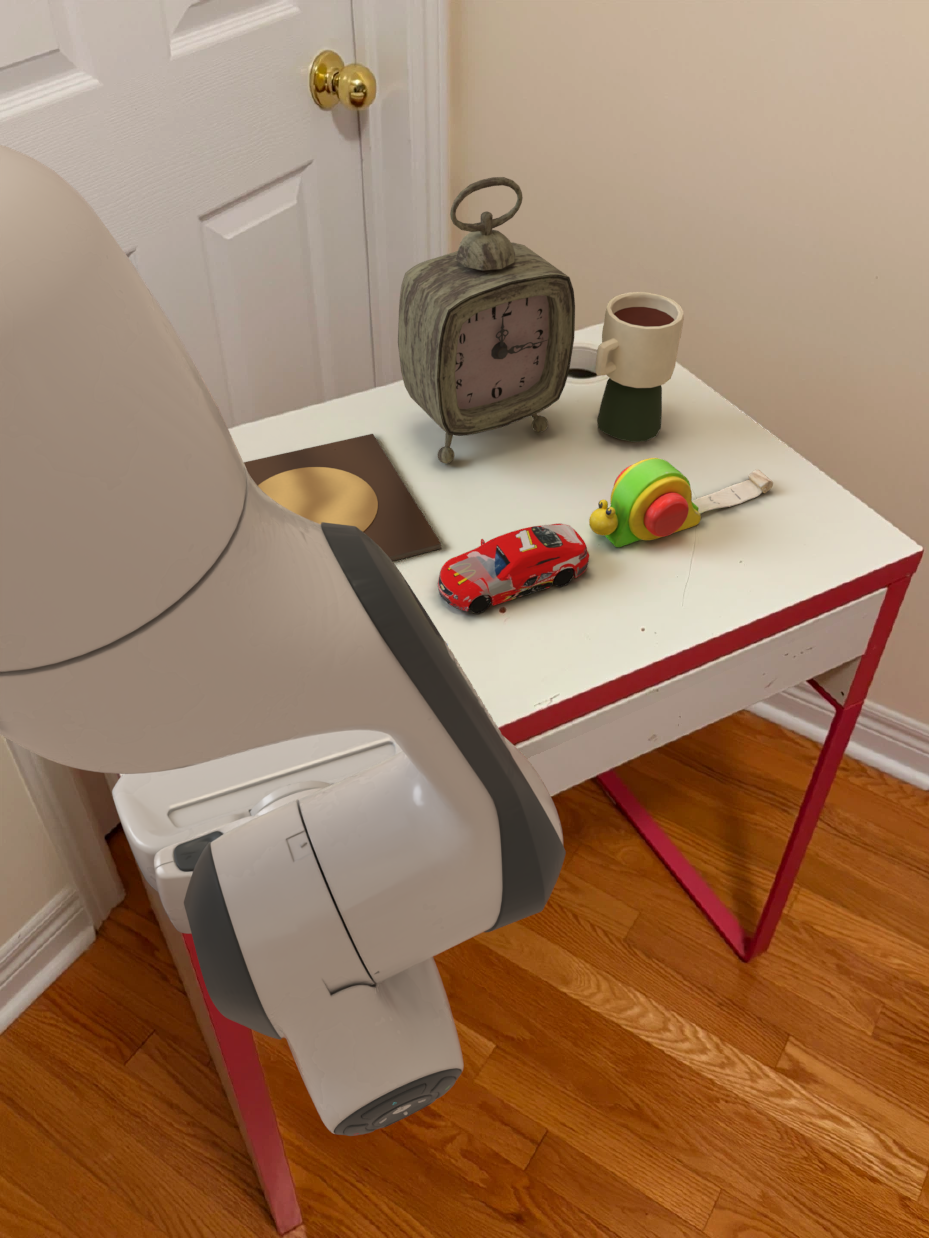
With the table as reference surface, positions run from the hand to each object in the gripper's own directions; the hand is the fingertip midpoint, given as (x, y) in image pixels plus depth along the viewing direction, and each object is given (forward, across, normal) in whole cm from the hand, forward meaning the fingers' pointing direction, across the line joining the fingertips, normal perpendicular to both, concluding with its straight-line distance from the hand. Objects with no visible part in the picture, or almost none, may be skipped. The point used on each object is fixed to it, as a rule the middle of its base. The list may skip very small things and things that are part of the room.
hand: (251, 696), depth 72 cm
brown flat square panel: (+24, -11, +5) cm, 27 cm away
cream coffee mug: (+25, -44, +5) cm, 51 cm away
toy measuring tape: (+11, -42, +5) cm, 44 cm away
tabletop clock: (+30, -30, +5) cm, 43 cm away
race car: (+9, -24, +5) cm, 26 cm away
